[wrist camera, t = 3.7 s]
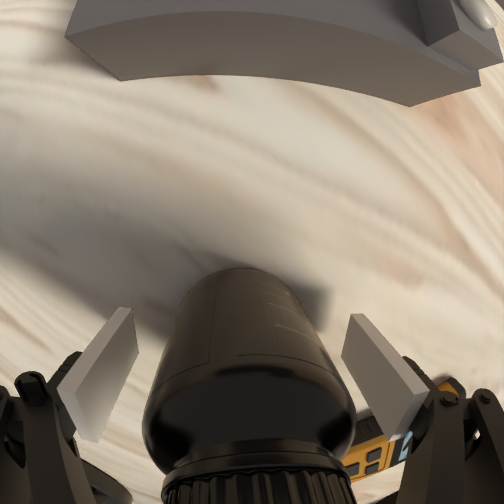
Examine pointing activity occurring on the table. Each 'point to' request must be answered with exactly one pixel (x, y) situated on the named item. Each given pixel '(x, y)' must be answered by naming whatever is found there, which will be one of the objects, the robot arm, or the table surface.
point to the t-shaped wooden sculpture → (390, 499)
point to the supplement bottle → (248, 400)
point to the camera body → (297, 42)
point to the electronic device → (382, 443)
